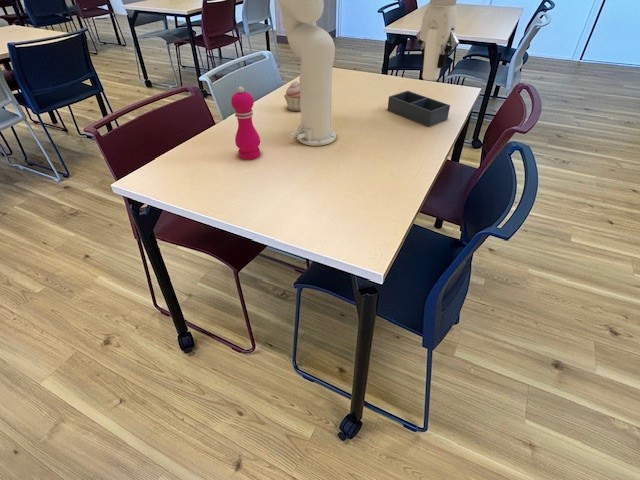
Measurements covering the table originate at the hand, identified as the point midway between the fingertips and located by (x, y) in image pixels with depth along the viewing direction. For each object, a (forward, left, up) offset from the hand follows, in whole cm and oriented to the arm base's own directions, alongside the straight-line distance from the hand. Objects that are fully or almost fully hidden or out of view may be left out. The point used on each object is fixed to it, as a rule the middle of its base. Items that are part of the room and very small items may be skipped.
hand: (432, 64), depth 122 cm
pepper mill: (-62, +14, -18) cm, 66 cm away
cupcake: (-29, +36, -18) cm, 50 cm away
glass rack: (+1, +4, -18) cm, 19 cm away
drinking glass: (0, 0, -5) cm, 5 cm away
